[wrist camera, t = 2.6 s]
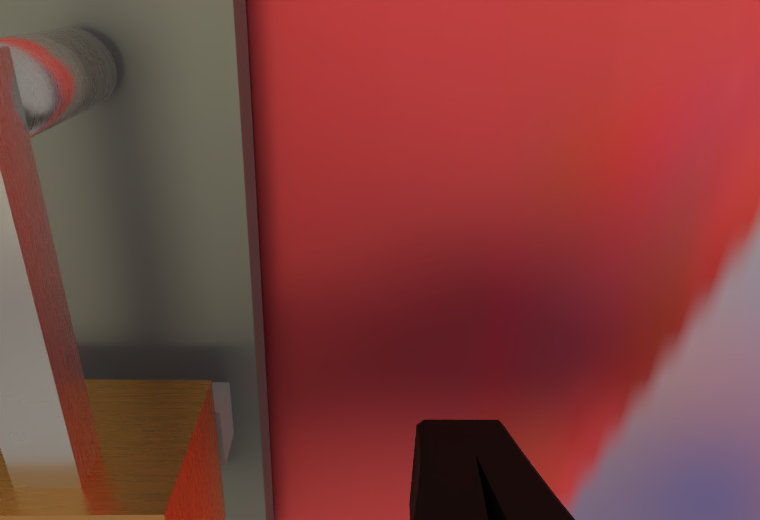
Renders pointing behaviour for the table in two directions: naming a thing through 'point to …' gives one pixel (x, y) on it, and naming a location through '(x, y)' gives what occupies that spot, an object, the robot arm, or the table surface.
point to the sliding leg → (58, 344)
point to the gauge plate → (165, 214)
